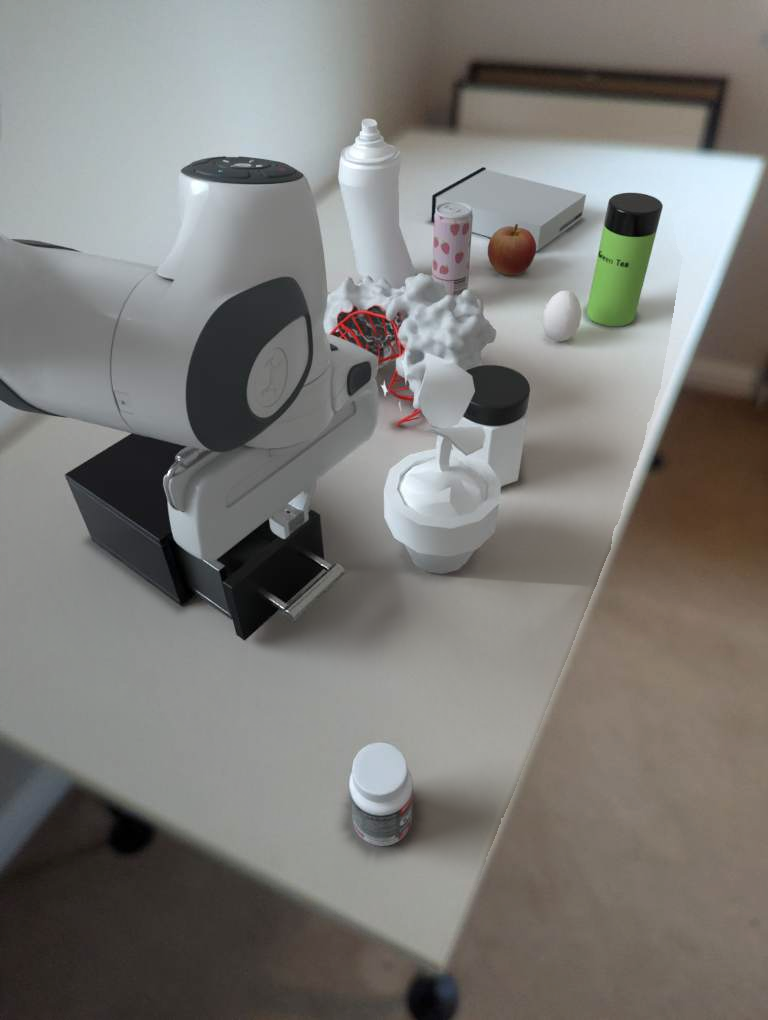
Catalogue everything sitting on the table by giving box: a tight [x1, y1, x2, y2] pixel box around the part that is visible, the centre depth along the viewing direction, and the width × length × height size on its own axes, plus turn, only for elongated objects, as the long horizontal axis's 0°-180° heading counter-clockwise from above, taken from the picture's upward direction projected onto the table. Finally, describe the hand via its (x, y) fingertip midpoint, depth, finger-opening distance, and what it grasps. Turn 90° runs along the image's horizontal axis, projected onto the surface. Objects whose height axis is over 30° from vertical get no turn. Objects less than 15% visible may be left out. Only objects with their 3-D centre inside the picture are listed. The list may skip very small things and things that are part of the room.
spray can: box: [337, 118, 417, 289], centre depth 112 cm, size 12×11×25 cm
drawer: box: [169, 509, 346, 641], centre depth 72 cm, size 18×12×8 cm, turn 52°
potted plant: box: [380, 348, 502, 575], centre depth 69 cm, size 13×12×25 cm
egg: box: [542, 289, 582, 342], centre depth 106 cm, size 5×5×8 cm
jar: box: [451, 364, 531, 487], centre depth 84 cm, size 9×8×12 cm
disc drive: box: [430, 166, 587, 252], centre depth 137 cm, size 18×22×5 cm
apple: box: [487, 224, 537, 276], centre depth 121 cm, size 8×8×8 cm
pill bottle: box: [348, 742, 414, 847], centre depth 56 cm, size 5×5×8 cm
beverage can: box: [431, 202, 473, 296], centre depth 111 cm, size 6×6×15 cm
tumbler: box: [586, 192, 664, 328], centre depth 107 cm, size 8×8×17 cm
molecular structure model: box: [323, 272, 497, 427], centre depth 93 cm, size 20×18×25 cm
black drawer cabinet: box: [64, 433, 197, 607], centre depth 77 cm, size 15×13×10 cm
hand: (290, 526), depth 63 cm, fingers closed
